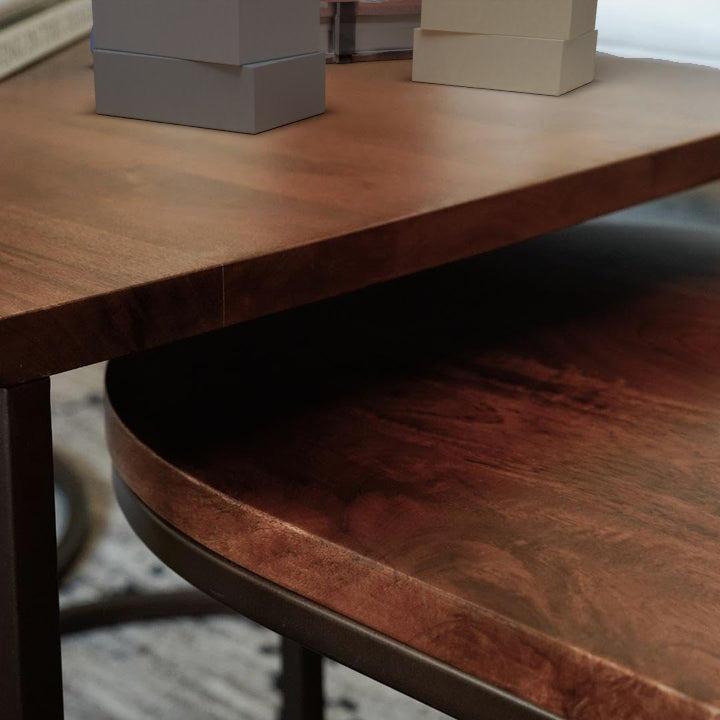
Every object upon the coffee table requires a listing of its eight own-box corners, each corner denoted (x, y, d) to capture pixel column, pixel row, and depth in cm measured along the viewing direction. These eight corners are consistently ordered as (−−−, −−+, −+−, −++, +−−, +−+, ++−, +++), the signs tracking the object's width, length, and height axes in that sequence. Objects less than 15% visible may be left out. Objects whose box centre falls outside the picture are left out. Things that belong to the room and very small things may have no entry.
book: (207, 70, 93) (205, 6, 92) (130, 44, 107) (127, -13, 105) (472, 56, 106) (476, -2, 104) (373, 34, 120) (374, -17, 118)
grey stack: (326, 112, 78) (328, -14, 75) (251, 135, 70) (249, -4, 67) (174, 94, 83) (170, -24, 80) (87, 114, 75) (79, -17, 72)
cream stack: (597, 81, 94) (607, -24, 91) (560, 97, 86) (570, -17, 83) (456, 67, 99) (461, -32, 96) (409, 81, 91) (413, -26, 88)
